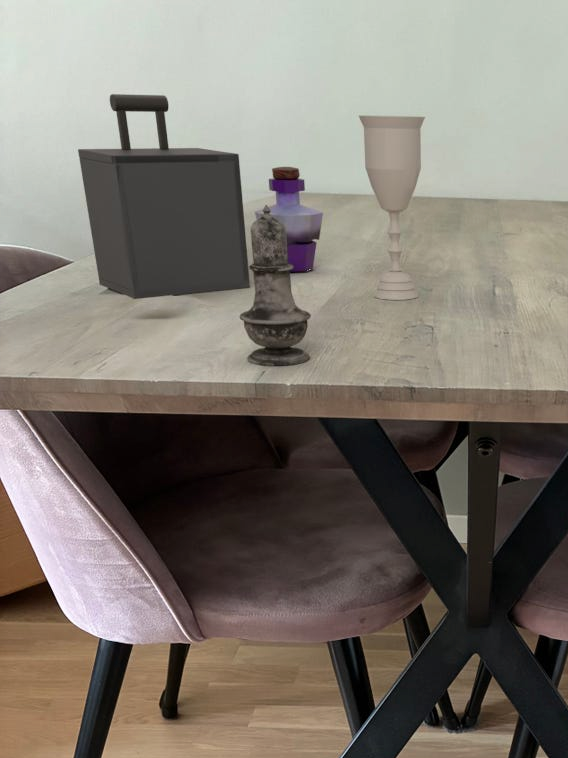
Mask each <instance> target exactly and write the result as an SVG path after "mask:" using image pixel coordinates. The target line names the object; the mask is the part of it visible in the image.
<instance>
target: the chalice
mask: <svg viewBox="0 0 568 758" xmlns="http://www.w3.org/2000/svg"><path fill="white" fill-rule="evenodd" d="M358 118H359V121H360V123H361V125H362V126H363V127H362V128H363V135H364V136H363V144H364V168H365V171H366V174H367V177H368V180H369V184H370V186H371V188H372V191H373V194H374V195H375V197H376V200H377V202H378V204H379V206H380V208H381V209H382V210H383V211H385V212H387V213H388V215H389V220H390V222H389V229H387V234H388V236H389V240H390V244H389V247H388V248H387V249H386V250H387V252H388V253H389V256H390V261H391V262H390V268H389V269H388V272H386V273H383V274H382V275H381V277H380V278H379V282H378V284H377V286H376V288H377V289H376V291H375V293H374V294H373V297H374V298H376V299H381V300H388V301H389V300H390V301H405V300H413V299H416V298H419V294H418V293H417V291H416V289H415V288H416V286H415V285H414V283H413V278H412V277H411V276H410V275H409V274H408V273H405V272H403V268H401V263H400V260H401V259H400V258H401V254H402V253H403V252H404V250H403V248H402V247H401V244H400V237H401V235H402V233H403V231H402V230H401V228H400V222H399V218H400V213H402V212H404V211H406V210H407V209H408V207H409V204H410V201H411V200H412V197H413V194H414V192H415V189H416V187H417V183H418V180H419V177H420V173H421V169H422V153H421V152H422V148H421V147H422V146H421V145H422V144H421V140H422V139H421V137H422V135H421V134H422V133H421V132H422V131H421V128H422V126H423V123H424V121H425V119H426V116H416V115H415V116H411V115H410V116H409V115H408V116H407V115H358Z"/></svg>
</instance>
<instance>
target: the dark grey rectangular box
mask: <svg viewBox="0 0 568 758" xmlns="http://www.w3.org/2000/svg"><path fill="white" fill-rule="evenodd" d="M109 105H110V108H111V110H112V111H113V112H116V118H117V126H118V134H119V141H120V148H78V149H77V152H78V157H79V164H80V171H81V178H82V182H83V189H84V195H85V202H86V207H87V214H88V220H89V221H88V222H89V228H90V233H91V239H92V246H93V251H94V257H95V258H94V259H95V263H96V264H95V265H96V269H97V276H98V282H99V285H100V286H102V287H105V288H107V289H109V290H112V291H114V292H117V293H119V294H122V295H124V296H126V297H129V298H131V299H133V300H140V299H150V298H159V297H160V298H161V297H169V296H170V297H171V296H176V295H177V296H179V295H189V294H198V293H207V292H219V291H227V290H236V289H237V290H238V289H247V288H251V283H250V269H249V261H248V249H247V247H248V245H247V236H246V225H245V224H246V223H245V214H244V213H245V212H244V203H243V202H244V201H243V200H244V199H243V190H242V188H243V187H242V177H241V166H240V165H241V164H240V154H239V153H235V152H227V151H222V150H221V151H220V150H215V149H208V148H207V149H206V148H200V147H171V148H169V139H168V130H167V123H166V122H167V121H166V114H165V113H167V112H168V111H169V101H168V97H167V96H166V95H164V94H163V95H162V94H161V95H159V94H125V93H124V94H123V93H122V94H120V93H117V94H116V93H112V94H110V96H109ZM127 112H133V113H134V112H141V113H142V112H145V113H146V112H147V113H154V114H155V115H154V116H155V123H156V130H157V138H158V148H155V147H154V148H131V142H130V141H131V140H130V133H129V125H128V118H127Z"/></svg>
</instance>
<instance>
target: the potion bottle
mask: <svg viewBox="0 0 568 758" xmlns="http://www.w3.org/2000/svg"><path fill="white" fill-rule="evenodd" d="M271 173H272V178H268V188H269V189H268V190H269V191H272V192H275V202H276V204H273V205H269V206H268V207H269V210H271V211H270V216H273V218H274V219H277V220H279V221H280V222H282V223H283V225H284V226H285V229H286V238H287V252H288V263H289V264H291V265H292V266H293V269H291V271H290V274H299V273H301V274H302V273H307V272H306V271H307V270H309V269H314V263H315V256H316V250H317V241H315V240H318V241H319V240H320V236H321V230H322V223H323V222H322V221H323V215H324V212H322V211H319V210H317V209H314V208H311V207H308V206H305V205H302V204H301V201H300V200H301V199H300V192H305V191H306V186H305V179H303V178H300V176H301V173H300V170H299V168H297V167H295V166H294V167H293V166H278V167H273V168H271ZM262 210H264V207H263V208H261V209H258V210H254V215H255V219H256V220H258V219H261V217H262V216H264V212H263V211H262Z"/></svg>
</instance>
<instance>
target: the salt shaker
mask: <svg viewBox="0 0 568 758" xmlns="http://www.w3.org/2000/svg"><path fill="white" fill-rule="evenodd" d="M263 208H264V210H262V211H263V212H264V216H262V217H261V219H258V220H257V219H256V220H255V221H253V222H252V224H251V225H250V239H251V249H252V261H253V263H251V265H248V269H249V270H251V272H253V281H254V282H253V283H254V298H253V303H252V306H251V307H250V309H248V310H246V311H243V312H241V313H240V314H239V315H238V316H239V319H240V320H241V321H242V322H243V326H244V330H245V332H246V334H247V336H248V338H249V340H251V341H252V342H253V343H254V344H255V345H257V346H259V347H262V348H258V349H255V350H253V351H252V352H251V353H249V354H248V355H247V357H246V359H247V361H248V362H249V363H251V364H255V365H259V366H269V367H279V366H280V367H282V366H283V367H284V366H291V365H292V366H293V365H299V364H304V363H306V362H308V361H310V360H311V355H310V354H309V353H308V352H306V351H305V350H303V349H301V348H299V347H294V346H295V345H298V344H300V342H301V341H303V339H304V338H305V336H306V334H307V329H308V327H309V325H308V320H310V319H311V317H312V314H311V313H310V312H309V311H306V310H304V309H301V308H300V307H299V306H298V305H296V302H295V299H294V296H293V293H292V281H291V273H290V271H291V269H293V266H292V265H291V264H289V263H288V252H287V238H286V229H285V226H284V225H283V223H282V222H280V221H279V220H277V219H274V218H273V216H270V211H271V210H269V206H268V205H267V204H265V205H264V206H263Z"/></svg>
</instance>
